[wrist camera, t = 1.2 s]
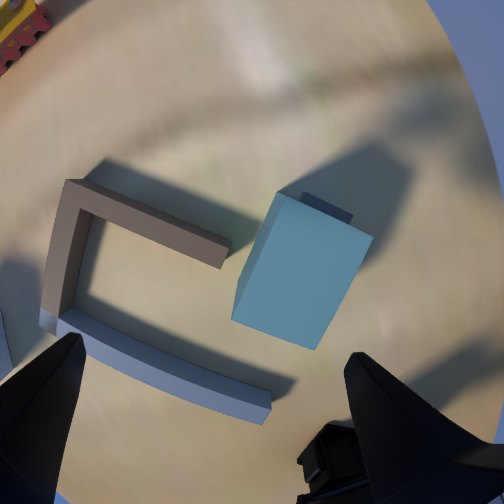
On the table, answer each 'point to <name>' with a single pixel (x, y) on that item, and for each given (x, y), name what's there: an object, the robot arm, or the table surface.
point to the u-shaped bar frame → (114, 342)
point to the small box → (4, 353)
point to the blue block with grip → (299, 269)
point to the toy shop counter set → (19, 28)
